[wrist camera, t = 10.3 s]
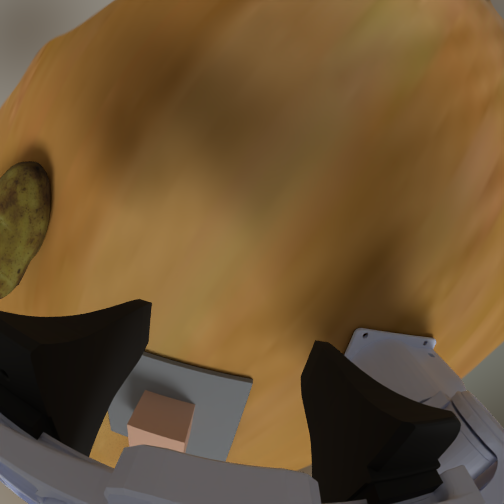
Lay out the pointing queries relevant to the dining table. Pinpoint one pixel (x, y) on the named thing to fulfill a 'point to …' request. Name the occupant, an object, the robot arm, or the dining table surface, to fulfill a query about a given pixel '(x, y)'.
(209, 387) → the mat
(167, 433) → the cube
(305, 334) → the dining table surface
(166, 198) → the dining table surface
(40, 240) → the potato
